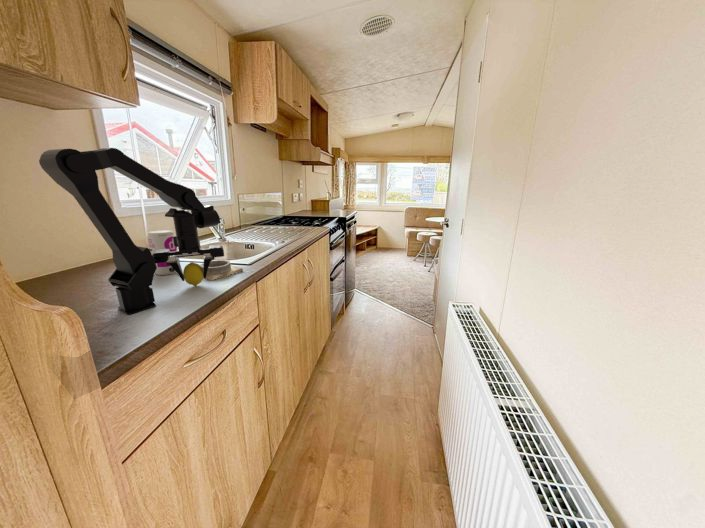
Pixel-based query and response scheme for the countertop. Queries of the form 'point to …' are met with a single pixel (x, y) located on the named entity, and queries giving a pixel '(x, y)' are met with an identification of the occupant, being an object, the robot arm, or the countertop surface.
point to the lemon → (193, 274)
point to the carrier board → (220, 269)
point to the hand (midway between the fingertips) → (194, 279)
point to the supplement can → (159, 242)
